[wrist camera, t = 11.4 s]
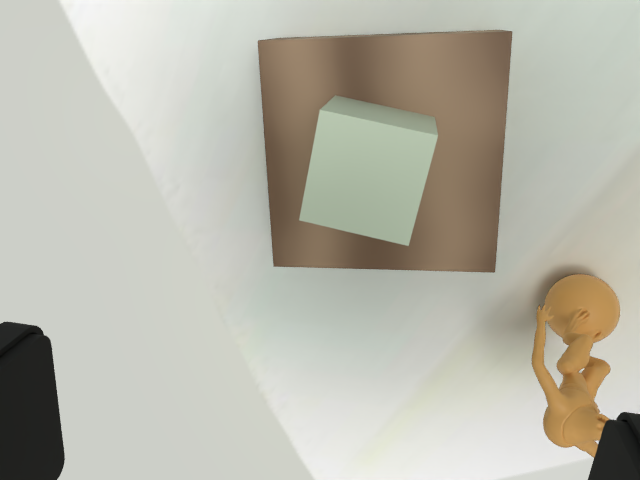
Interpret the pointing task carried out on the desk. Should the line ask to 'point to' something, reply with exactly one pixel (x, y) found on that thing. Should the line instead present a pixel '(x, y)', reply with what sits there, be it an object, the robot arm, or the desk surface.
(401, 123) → the sage cube
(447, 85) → the walnut block
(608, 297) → the figurine
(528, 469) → the desk surface
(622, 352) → the desk surface
